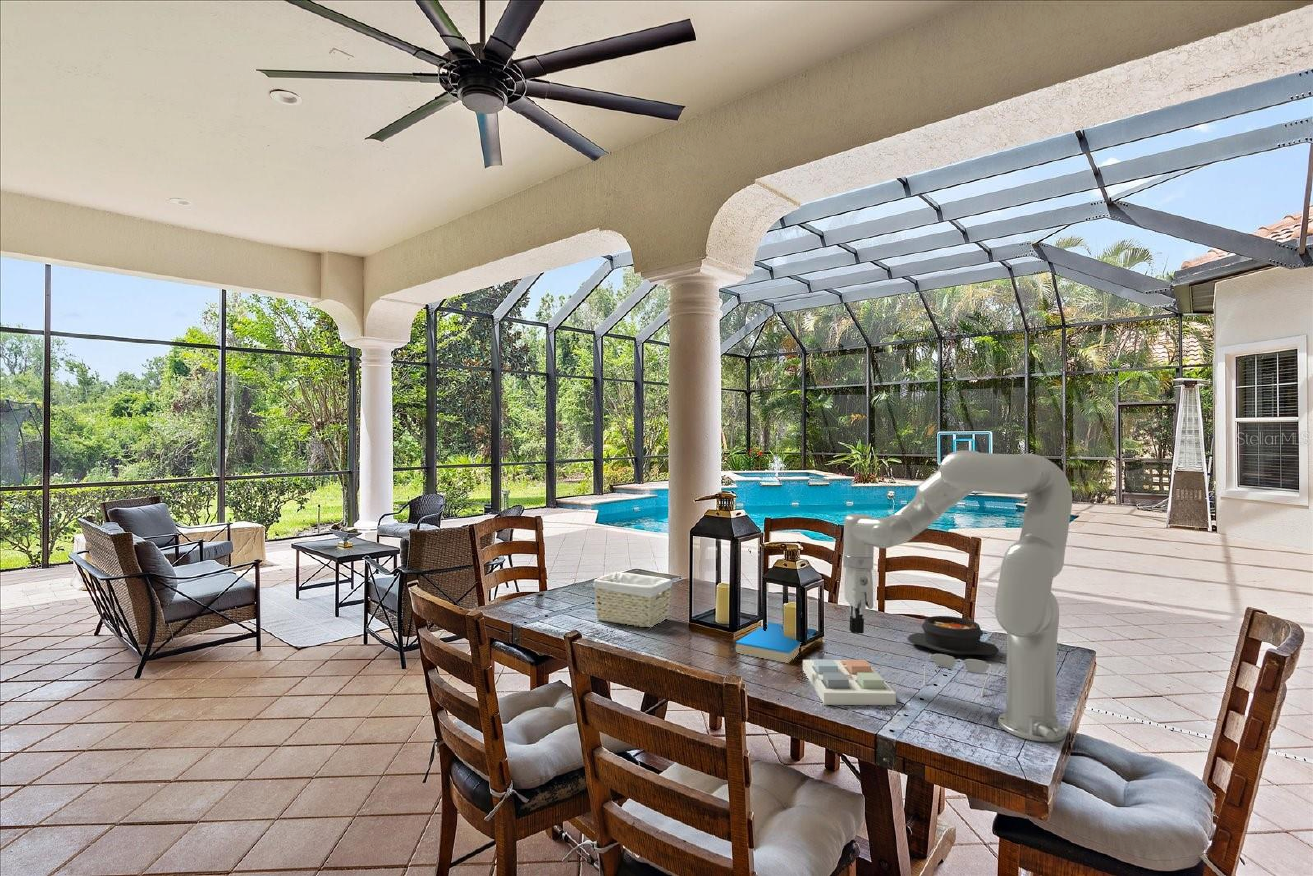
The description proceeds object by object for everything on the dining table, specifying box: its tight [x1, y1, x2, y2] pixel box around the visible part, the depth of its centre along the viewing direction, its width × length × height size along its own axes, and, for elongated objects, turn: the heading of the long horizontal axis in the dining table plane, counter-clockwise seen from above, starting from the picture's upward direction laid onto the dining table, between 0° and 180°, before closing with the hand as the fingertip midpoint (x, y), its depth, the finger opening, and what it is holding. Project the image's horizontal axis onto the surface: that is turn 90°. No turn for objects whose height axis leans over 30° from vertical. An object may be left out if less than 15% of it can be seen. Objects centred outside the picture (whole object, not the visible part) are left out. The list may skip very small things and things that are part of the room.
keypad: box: [802, 659, 897, 706], centre depth 164 cm, size 23×17×3 cm
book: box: [734, 621, 817, 664], centre depth 196 cm, size 17×4×25 cm
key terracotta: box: [845, 659, 872, 675], centre depth 167 cm, size 5×5×2 cm
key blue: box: [813, 658, 838, 675], centre depth 167 cm, size 5×5×2 cm
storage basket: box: [592, 571, 673, 628], centre depth 224 cm, size 24×16×15 cm
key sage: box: [857, 672, 885, 689], centre depth 158 cm, size 5×5×2 cm
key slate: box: [823, 672, 849, 689], centre depth 158 cm, size 5×5×2 cm
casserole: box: [907, 615, 1000, 656], centre depth 194 cm, size 25×19×8 cm
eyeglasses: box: [922, 653, 992, 698], centre depth 169 cm, size 15×18×4 cm
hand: (856, 632), depth 168 cm, fingers closed
